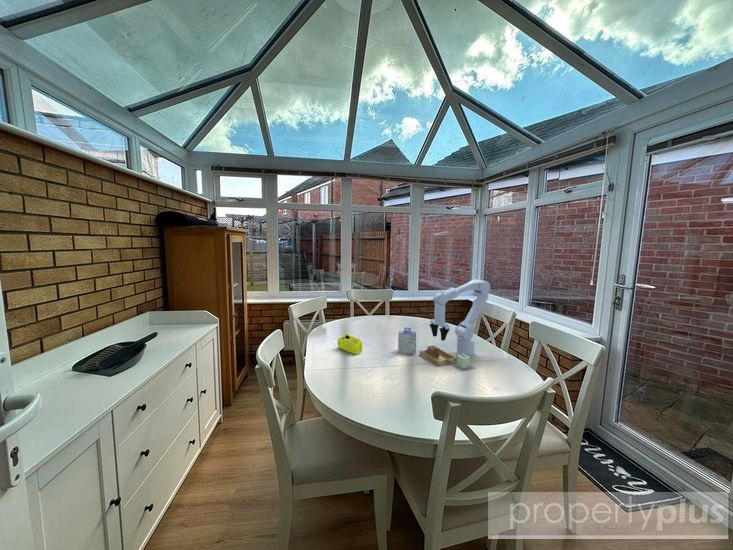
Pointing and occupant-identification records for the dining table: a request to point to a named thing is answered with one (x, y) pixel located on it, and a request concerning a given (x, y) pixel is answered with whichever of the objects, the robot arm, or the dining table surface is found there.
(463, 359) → the sage block
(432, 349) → the walnut block
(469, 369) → the rubber pad
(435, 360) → the oak tray
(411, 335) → the ink cartridge box
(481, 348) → the dining table surface
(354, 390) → the dining table surface
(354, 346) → the yellow toy chassis
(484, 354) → the dining table surface
